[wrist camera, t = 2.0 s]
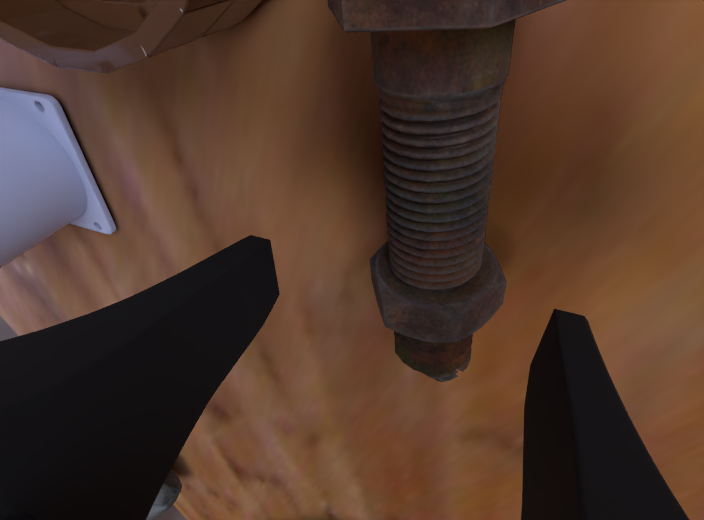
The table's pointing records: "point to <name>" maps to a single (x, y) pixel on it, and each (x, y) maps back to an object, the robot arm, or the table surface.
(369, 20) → the bolt
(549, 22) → the table surface
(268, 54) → the table surface
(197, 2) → the bowl
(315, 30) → the table surface
